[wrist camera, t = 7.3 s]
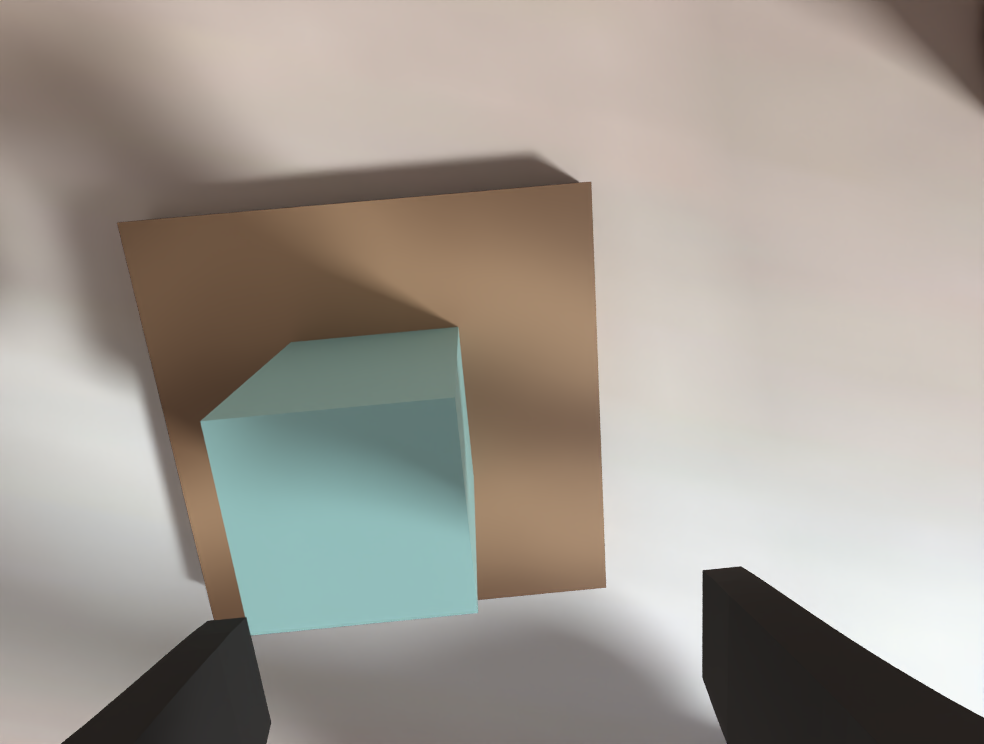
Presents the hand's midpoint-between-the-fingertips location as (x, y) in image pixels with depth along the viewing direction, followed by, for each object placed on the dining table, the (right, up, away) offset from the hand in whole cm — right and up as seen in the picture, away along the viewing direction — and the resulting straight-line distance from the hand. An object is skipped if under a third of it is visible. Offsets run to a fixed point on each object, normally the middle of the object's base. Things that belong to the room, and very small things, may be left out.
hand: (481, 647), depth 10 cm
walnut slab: (-3, +3, +9) cm, 10 cm away
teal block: (-3, +3, +8) cm, 9 cm away
